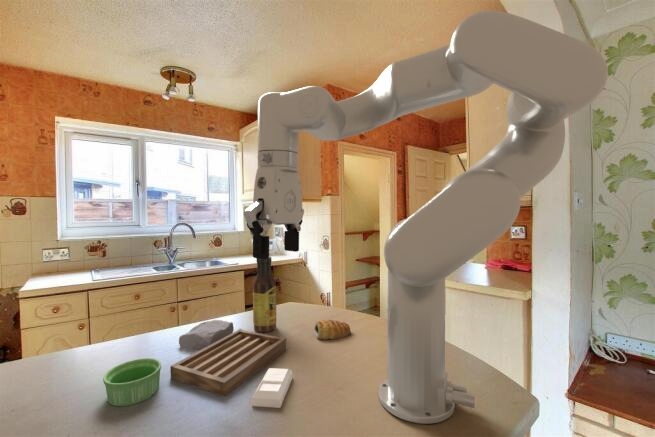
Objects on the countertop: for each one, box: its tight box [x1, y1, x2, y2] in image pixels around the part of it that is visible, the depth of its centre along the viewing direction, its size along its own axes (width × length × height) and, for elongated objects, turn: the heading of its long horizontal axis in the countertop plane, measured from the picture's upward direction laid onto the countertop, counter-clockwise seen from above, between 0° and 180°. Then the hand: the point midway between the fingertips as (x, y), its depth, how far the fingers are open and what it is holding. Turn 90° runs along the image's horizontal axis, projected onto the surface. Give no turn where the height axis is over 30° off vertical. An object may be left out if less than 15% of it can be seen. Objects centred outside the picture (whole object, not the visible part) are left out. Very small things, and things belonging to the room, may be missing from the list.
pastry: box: [314, 319, 351, 340], centre depth 82 cm, size 9×7×4 cm
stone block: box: [178, 319, 235, 351], centre depth 80 cm, size 12×5×10 cm
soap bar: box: [251, 367, 293, 409], centre depth 57 cm, size 5×9×3 cm, turn 173°
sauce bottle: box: [252, 255, 277, 333], centre depth 86 cm, size 6×6×20 cm
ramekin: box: [102, 357, 162, 407], centre depth 57 cm, size 9×9×4 cm
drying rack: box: [169, 328, 287, 397], centre depth 68 cm, size 14×20×2 cm
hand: (277, 254), depth 59 cm, fingers open, 9 cm apart
